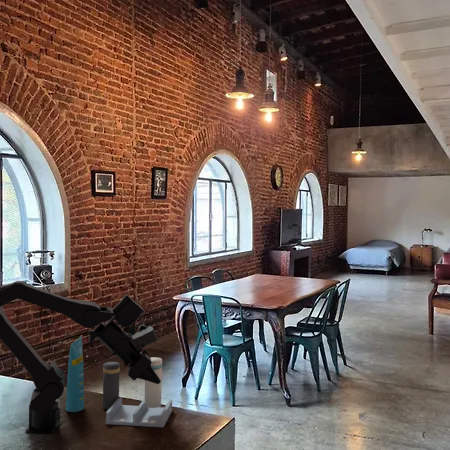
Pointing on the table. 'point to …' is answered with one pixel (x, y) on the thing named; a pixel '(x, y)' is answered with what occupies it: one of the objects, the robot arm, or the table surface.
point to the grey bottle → (110, 383)
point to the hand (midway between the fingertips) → (158, 379)
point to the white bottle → (154, 386)
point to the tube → (75, 378)
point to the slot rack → (138, 414)
